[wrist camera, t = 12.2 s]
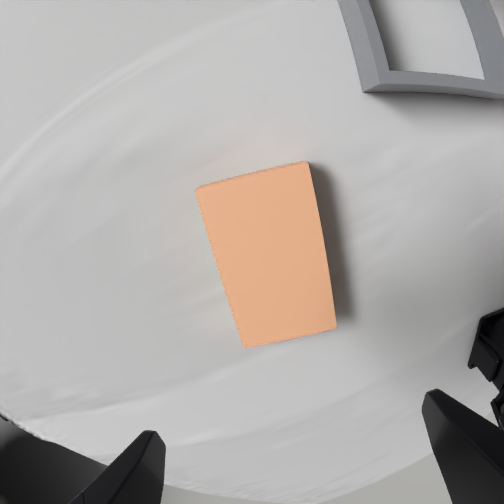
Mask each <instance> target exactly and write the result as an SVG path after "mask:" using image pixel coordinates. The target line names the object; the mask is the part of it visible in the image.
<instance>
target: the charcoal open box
mask: <svg viewBox="0 0 504 504" xmlns="http://www.w3.org/2000/svg"><path fill="white" fill-rule="evenodd" d="M460 2H461V4H462V6H463V9H464V12H465V14H466V17H467V19H468V22H469V25H470V28H471V31H472V34H473V37H474V40H475V43H476V47H477V50H478V53H479V57H480V61H481V64H482V68H483V73H484V77H485V80H481V79H475V78H469V77H462V76H455V75H447V74H437V73H426V72H412V71H390V70H389V66H388V62H387V58H386V54H385V51H384V47H383V44H382V40H381V37H380V33H379V30H378V27H377V24H376V21H375V17H374V14H373V12H372V9H371V6H370V3H369V0H338V3H339V6H340V9H341V12H342V15H343V18H344V21H345V25H346V28H347V31H348V35H349V38H350V42H351V46H352V49H353V53H354V57H355V61H356V65H357V69H358V74H359V78H360V82H361V87H362V92H430V93H446V94H458V95H468V96H476V97H484V98H491V99H502V98H504V38H503V35H502V32H501V29H500V26H499V24H498V21H497V18H496V16H495V13H494V11H493V8H492V6H491V3H490V1H489V0H460Z"/></svg>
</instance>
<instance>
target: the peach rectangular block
mask: <svg viewBox="0 0 504 504" xmlns="http://www.w3.org/2000/svg"><path fill="white" fill-rule="evenodd" d="M195 193H196V197H197V200H198V204H199V207H200V211H201V214H202V218H203V221H204V224H205V228H206V231H207V234H208V238H209V241H210V244H211V248H212V251H213V254H214V258H215V261H216V264H217V267H218V270H219V274H220V277H221V280H222V283H223V286H224V289H225V293H226V296H227V299H228V302H229V305H230V308H231V311H232V314H233V317H234V320H235V323H236V326H237V329H238V332H239V335H240V338H241V341H242V344H243V347H244V348H248V347H253V346H259V345H264V344H269V343H274V342H279V341H284V340H289V339H293V338H298V337H302V336H307V335H311V334H316V333H320V332H324V331H328V330H332V329H336V328H337V325H336V317H335V310H334V302H333V295H332V288H331V282H330V275H329V269H328V262H327V256H326V250H325V245H324V239H323V233H322V228H321V223H320V217H319V212H318V207H317V202H316V197H315V192H314V187H313V183H312V178H311V173H310V169H309V164H308V162H304V161H301V162H296V163H291V164H287V165H282V166H278V167H273V168H269V169H265V170H261V171H256V172H252V173H248V174H244V175H240V176H236V177H232V178H228V179H224V180H221V181H217V182H213V183H210V184H206V185H202V186H200V187H199V188H197V189H196V190H195Z"/></svg>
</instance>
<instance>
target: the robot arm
mask: <svg viewBox="0 0 504 504" xmlns="http://www.w3.org/2000/svg"><path fill="white" fill-rule="evenodd" d="M468 367H469V368H470V369H472V368H474V367H478V368H479V370H480V371H481V372H482V374H483V375H484V376H485V377H486V379H487V380H488V381H489V382H491V381H492V382H493V384H494V385H495V386H496V388H497V389H498V390H499V394H498V395H497V396H496V398H494V399H493V400H492V401H491V403H490V404H491V406H492V409H493V412H494V414H495V417H496V420H497V423H498V425H499V427H497V426H496V425H494V424H493V423H491V422H490V421H488V420H486V419H485V418H483V417H482V416H480V415H479V414H477V413H476V412H474V411H472V410H471V409H469V408H468V407H466V406H465V405H463V404H461V403H460V402H458V401H457V400H455V399H454V398H452V397H450V396H449V395H447V394H446V393H444V392H443V391H441V390H439V389H434V390H431V391H428V392H427V393H426V395H425V398H424V401H423V405H422V415H423V418H424V421H425V425H426V428H427V432H428V436H429V439H430V443H431V446H432V449H433V452H434V455H435V457H436V460H437V462H438V465H439V467H440V470H441V473H442V475H443V478H444V481H445V483H446V486H447V489H448V492H449V495H450V497H451V500H452V503H453V504H504V308H503V309H501V310H499V311H496V312H494V313H491V314H489V315H486V316H484V317H482V318H481V319H480V321H479V325H478V330H477V334H476V337H475V341H474V345H473V349H472V352H471V356H470V359H469V362H468ZM165 453H166V446H165V443H164V442H163V440H162V439H161V437H160V436H159V435H158V433H157V432H156V431H151V430H145V431H143V432H142V433H141V434H140V435H139V436H138V437H137V438H136V439H135V440H134V441H133V442H132V443H131V444H130V445H129V446H128V447H127V448H126V449H125V450H124V451H123V452H122V453H121V454H120V455H119V456H118V457H117V458H116V459H115V460H114V461H113V462H112V463H111V464H110V465H109V466H108V467H107V468H106V469H105V470H104V471H103V472H102V473H101V474H100V475H99V476H98V477H97V478H96V479H95V480H94V481H92V482H91V483H90V485H88V486H87V487H86V488H85V489H84V490H83V491H82V492H81V493H80V494H79V495H78V496H76V497H75V499H73V500H72V501H71V502H70V503H68V504H160V503H161V497H162V491H163V485H164V470H165Z"/></svg>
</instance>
